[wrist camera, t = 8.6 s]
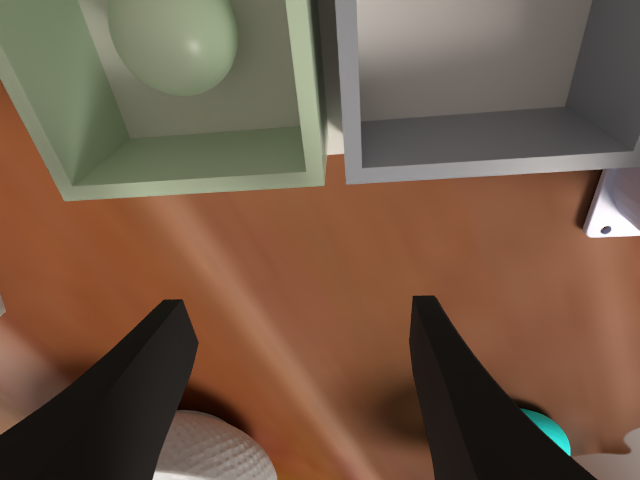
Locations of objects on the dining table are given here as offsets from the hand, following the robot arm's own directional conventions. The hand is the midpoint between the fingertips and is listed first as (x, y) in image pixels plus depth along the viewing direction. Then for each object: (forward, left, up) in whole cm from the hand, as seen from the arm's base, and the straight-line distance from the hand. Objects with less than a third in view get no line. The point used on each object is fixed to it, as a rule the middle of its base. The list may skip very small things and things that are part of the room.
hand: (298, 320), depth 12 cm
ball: (+4, -8, -7) cm, 11 cm away
